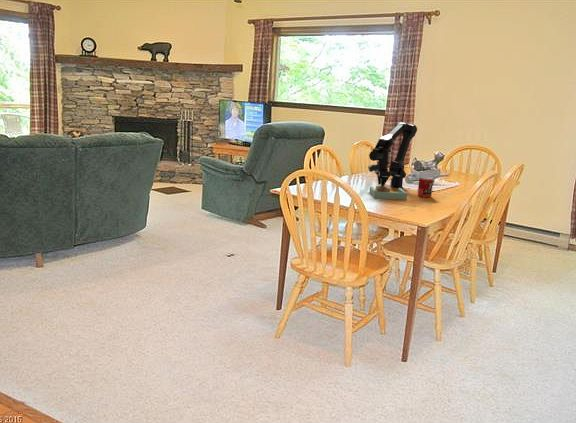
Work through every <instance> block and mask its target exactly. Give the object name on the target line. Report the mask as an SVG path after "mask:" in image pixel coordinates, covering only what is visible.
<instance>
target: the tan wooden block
mask: <svg viewBox="0 0 576 423" xmlns="http://www.w3.org/2000/svg"><path fill="white" fill-rule="evenodd" d="M374 189H375V190H376V191H377V192H391V188H390V187H389V186H385V185H384V186H381V185H375V188H374Z"/></svg>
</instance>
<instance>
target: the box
mask: <svg viewBox="0 0 576 423" xmlns="http://www.w3.org/2000/svg"><path fill="white" fill-rule="evenodd" d="M397 188H398V189H397V191H396V192H395V191H393V192H391V191H390V192H377V191H376V190H375V189H376V188H374V187H373V186H369V194H370V196H372V198H373V199H380V200H382V199H384V200H404V201H405V200H407V198H408V193H407V192H406V191H405V190H404V189H402V188H401V187H397Z"/></svg>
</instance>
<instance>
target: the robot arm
mask: <svg viewBox="0 0 576 423" xmlns="http://www.w3.org/2000/svg"><path fill="white" fill-rule="evenodd" d="M417 132H418V126H416V124H412V123H411V124H410V123H406V122H398V123H397V125H396V126H395V127H394V128H393V129H392V130H391V131H390V132H389V133H388V134H386V135H383V136H381V137H380V138H379V139H378V141H377V143H376V144H375V147H374V148H372V151H370V152H369V154H368V156H369V159H370V160H371V161H375V162H376V163H373V164H370V165H367V168H368V171H369V173H373V172H374V173H375V175H376V178H377V185H380V186H385V185H386V183H387V182H388V179H389V178H390V183H389V185H390V186H391V187H392V188H401V189H402V188H404V187H403V181H404V179H405V178H406V176H407V173H406V171H405V163H404V161H405V157H406V154H407V151H408V149H409V146H410V143H411V140H412V139H413V138H414V137H415V135H416V133H417ZM400 135H401V136H402V139H401V142H400V145H399V147H398V150H397V154H396V156H395V159H394V160H391V161H390V165H389V156H390V153H392V150H391V148H392V146H393V145H394V141H395V140H396V139H397V138H398V137H399V136H400Z"/></svg>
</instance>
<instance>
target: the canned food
mask: <svg viewBox="0 0 576 423" xmlns="http://www.w3.org/2000/svg"><path fill="white" fill-rule="evenodd" d="M433 185H434V177H432V176H427V175H422V176H419V178H418V188H417V197H420V198H424V199H429V198H432V194H433Z"/></svg>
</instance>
